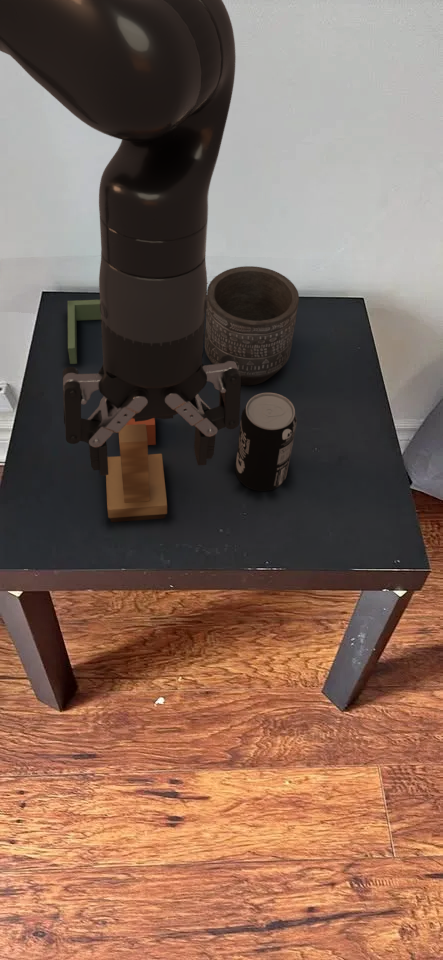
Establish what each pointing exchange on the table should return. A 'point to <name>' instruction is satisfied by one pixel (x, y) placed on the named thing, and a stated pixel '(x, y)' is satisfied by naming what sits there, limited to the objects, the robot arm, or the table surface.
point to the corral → (80, 312)
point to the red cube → (150, 429)
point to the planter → (251, 321)
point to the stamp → (135, 479)
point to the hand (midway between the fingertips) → (151, 463)
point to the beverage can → (265, 441)
